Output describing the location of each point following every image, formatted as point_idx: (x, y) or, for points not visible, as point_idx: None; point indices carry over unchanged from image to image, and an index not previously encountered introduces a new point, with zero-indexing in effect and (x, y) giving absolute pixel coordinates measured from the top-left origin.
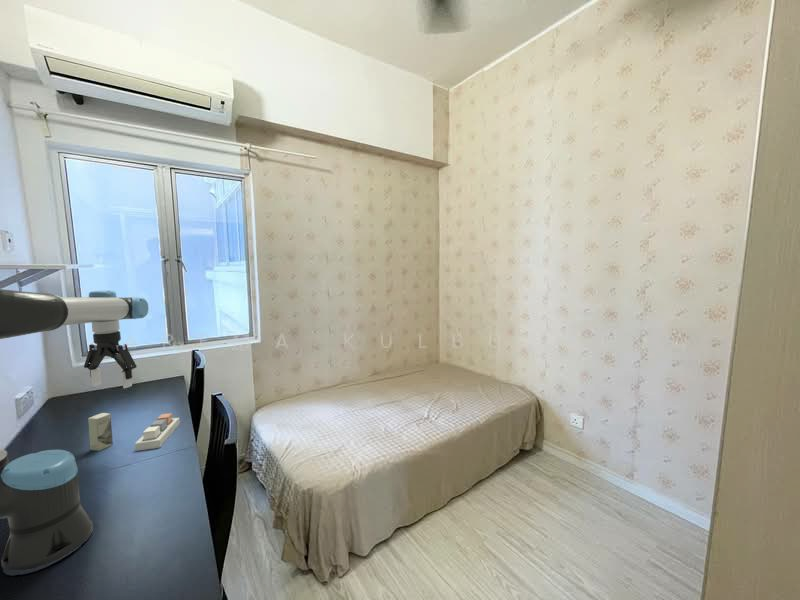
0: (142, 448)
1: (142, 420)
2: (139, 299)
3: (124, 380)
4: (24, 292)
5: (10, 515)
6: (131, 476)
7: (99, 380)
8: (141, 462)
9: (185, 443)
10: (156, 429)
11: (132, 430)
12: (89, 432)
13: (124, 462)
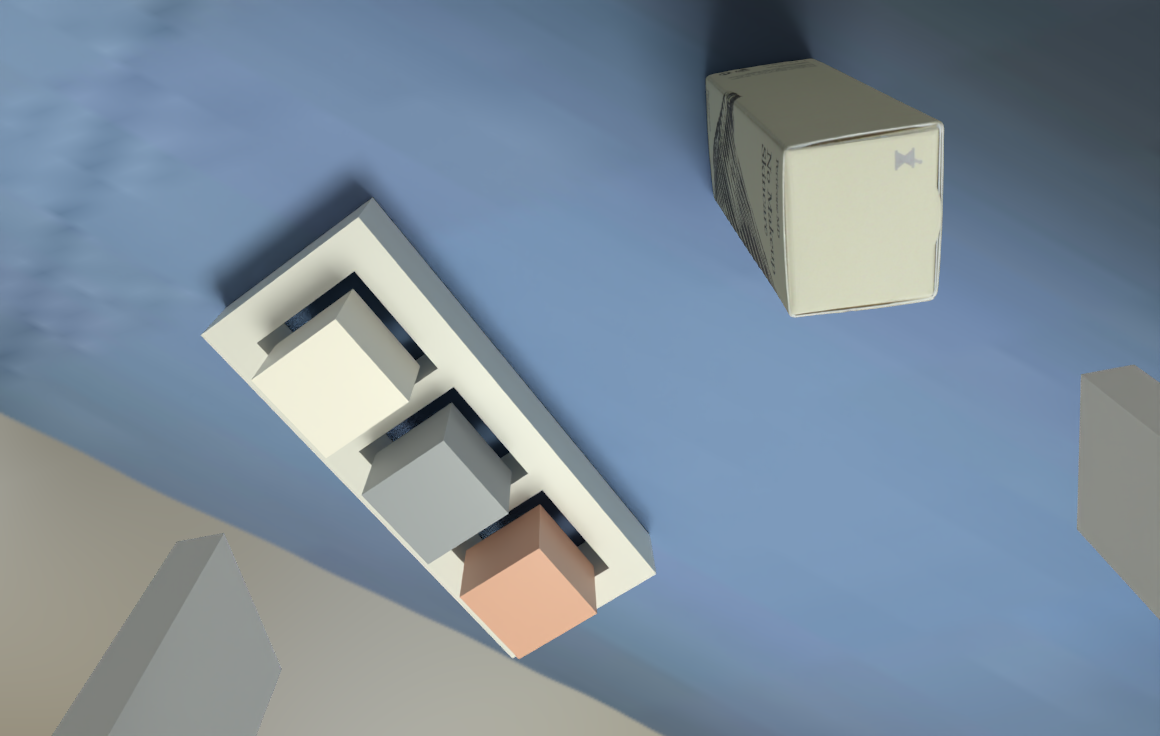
0: (325, 233)
1: (925, 557)
2: None
3: (91, 695)
4: None
5: None
6: None
7: (1147, 567)
8: (91, 88)
9: (93, 423)
10: (275, 402)
11: (819, 418)
12: (868, 87)
13: (240, 33)
